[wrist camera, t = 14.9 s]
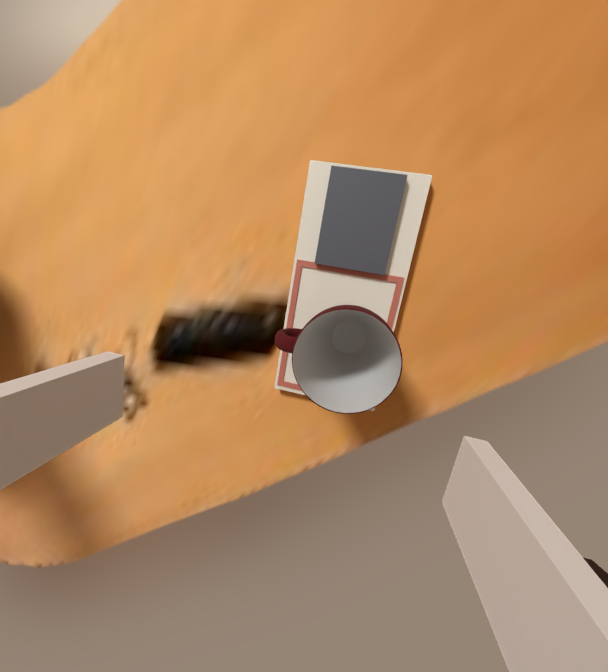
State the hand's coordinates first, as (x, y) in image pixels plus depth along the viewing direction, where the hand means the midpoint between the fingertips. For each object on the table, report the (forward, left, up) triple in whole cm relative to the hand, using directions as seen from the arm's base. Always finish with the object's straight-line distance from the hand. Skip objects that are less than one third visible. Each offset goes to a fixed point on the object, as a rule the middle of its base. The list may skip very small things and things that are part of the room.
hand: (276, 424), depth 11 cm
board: (+1, +4, -22) cm, 22 cm away
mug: (+1, -1, -21) cm, 21 cm away
